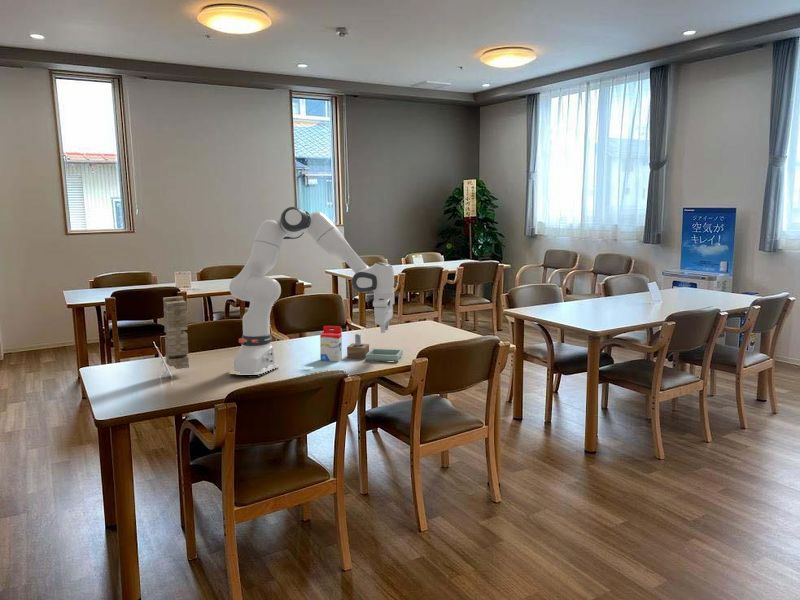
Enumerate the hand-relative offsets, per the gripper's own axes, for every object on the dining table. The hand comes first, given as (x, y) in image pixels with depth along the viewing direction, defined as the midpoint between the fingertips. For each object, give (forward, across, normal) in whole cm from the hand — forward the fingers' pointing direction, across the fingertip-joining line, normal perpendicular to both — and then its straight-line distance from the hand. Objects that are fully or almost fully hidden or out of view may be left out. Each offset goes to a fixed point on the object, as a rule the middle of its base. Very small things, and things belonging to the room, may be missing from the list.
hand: (384, 331), depth 264 cm
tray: (+12, 0, 0) cm, 12 cm away
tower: (+12, +30, -82) cm, 88 cm away
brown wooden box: (+12, -2, -12) cm, 18 cm away
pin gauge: (+12, -2, -13) cm, 18 cm away
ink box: (+12, +6, -22) cm, 26 cm away
